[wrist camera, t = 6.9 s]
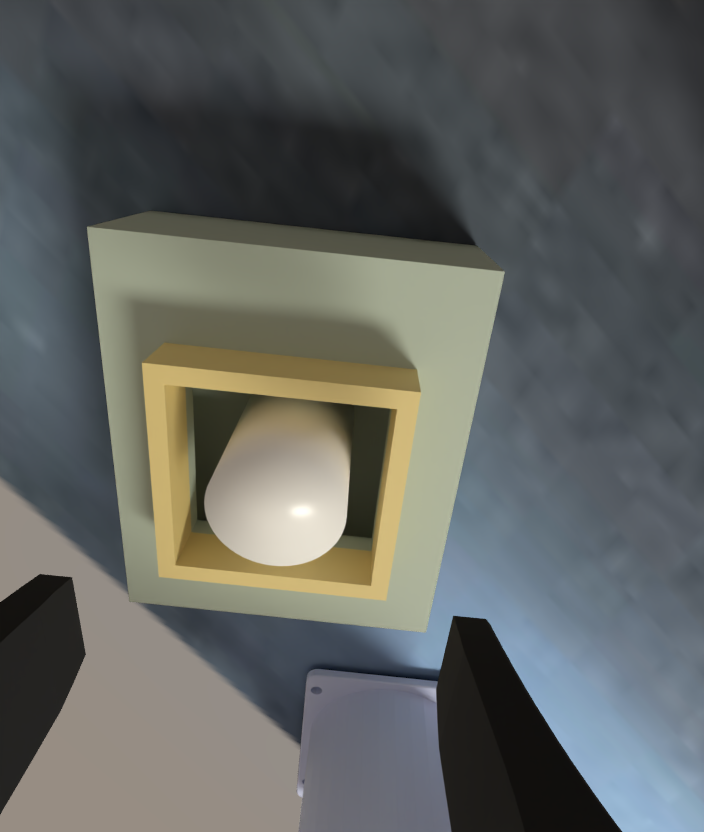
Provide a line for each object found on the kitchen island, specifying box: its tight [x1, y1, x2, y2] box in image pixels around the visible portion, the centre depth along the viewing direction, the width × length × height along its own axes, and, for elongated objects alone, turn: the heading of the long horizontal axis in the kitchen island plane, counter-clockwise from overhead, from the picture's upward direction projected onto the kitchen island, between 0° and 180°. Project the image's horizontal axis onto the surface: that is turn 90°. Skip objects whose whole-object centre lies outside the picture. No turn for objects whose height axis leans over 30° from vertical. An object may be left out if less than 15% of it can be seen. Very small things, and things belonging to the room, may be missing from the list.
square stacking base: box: [87, 211, 505, 632], centre depth 17 cm, size 12×10×6 cm
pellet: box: [204, 394, 354, 566], centre depth 16 cm, size 4×4×6 cm
